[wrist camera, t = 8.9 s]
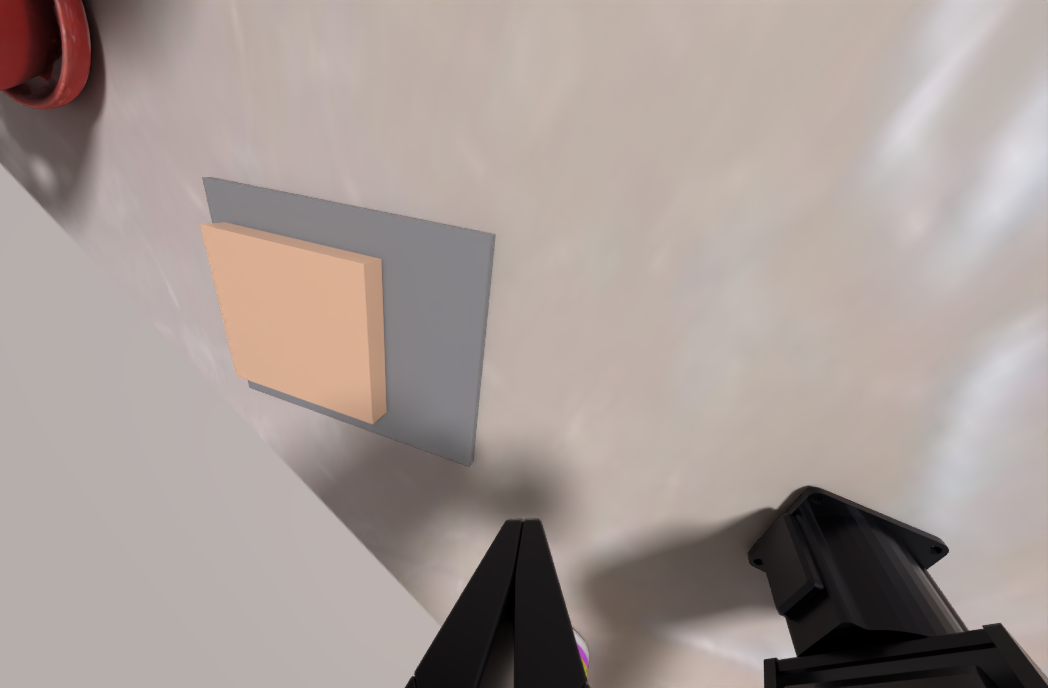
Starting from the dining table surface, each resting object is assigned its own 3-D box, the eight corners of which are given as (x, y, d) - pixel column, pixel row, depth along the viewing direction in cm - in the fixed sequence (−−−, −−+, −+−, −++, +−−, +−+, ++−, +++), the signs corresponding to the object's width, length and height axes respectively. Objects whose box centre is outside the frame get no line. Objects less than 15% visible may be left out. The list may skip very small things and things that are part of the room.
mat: (495, 234, 20) (491, 235, 19) (473, 461, 27) (469, 467, 26) (212, 177, 24) (202, 177, 24) (256, 384, 31) (249, 387, 31)
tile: (363, 263, 20) (200, 224, 23) (372, 424, 25) (236, 375, 28) (383, 258, 22) (227, 221, 24) (388, 410, 26) (257, 366, 29)
